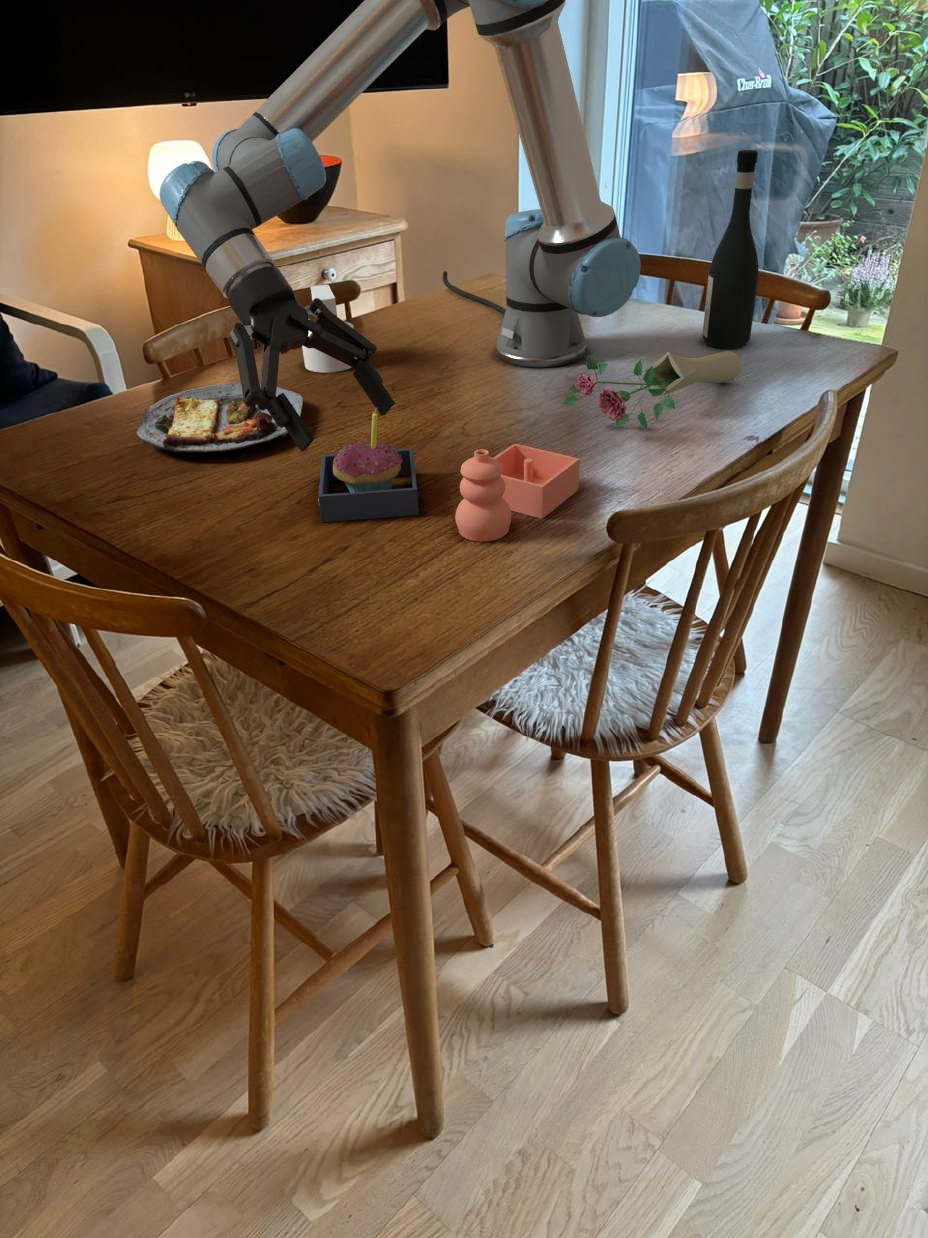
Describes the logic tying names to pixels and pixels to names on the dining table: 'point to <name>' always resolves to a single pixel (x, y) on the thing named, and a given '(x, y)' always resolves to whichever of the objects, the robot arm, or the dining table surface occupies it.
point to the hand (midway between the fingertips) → (349, 426)
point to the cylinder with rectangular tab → (312, 356)
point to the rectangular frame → (367, 496)
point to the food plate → (210, 420)
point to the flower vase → (657, 382)
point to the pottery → (512, 488)
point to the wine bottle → (734, 269)
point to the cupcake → (367, 463)
